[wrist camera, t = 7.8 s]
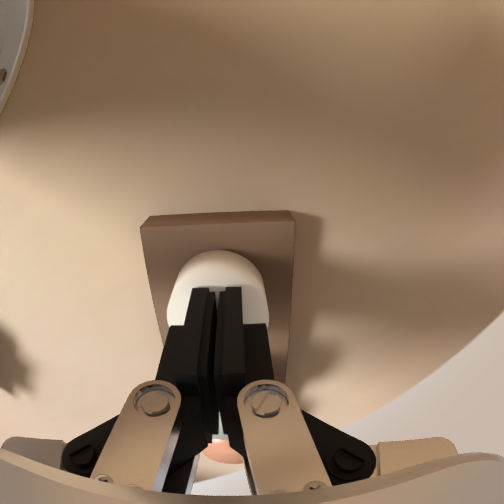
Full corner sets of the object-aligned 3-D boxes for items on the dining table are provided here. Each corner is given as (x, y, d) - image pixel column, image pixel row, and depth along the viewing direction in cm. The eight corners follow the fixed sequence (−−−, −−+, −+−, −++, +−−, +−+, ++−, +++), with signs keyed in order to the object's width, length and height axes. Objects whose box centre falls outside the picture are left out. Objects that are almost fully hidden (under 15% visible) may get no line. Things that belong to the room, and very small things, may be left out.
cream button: (170, 252, 11) (158, 276, 9) (264, 248, 11) (269, 273, 10) (182, 326, 13) (175, 357, 11) (263, 324, 13) (268, 355, 11)
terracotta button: (200, 410, 15) (198, 437, 13) (262, 408, 15) (265, 436, 14) (208, 439, 17) (207, 463, 15) (262, 437, 17) (264, 462, 15)
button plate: (149, 216, 12) (139, 227, 11) (288, 210, 13) (294, 221, 11) (194, 425, 19) (192, 441, 17) (277, 423, 19) (279, 439, 18)
